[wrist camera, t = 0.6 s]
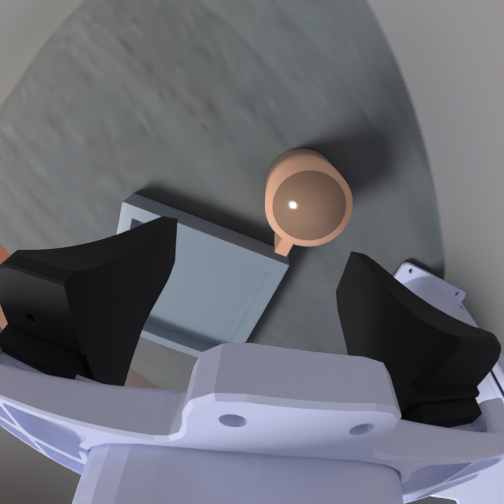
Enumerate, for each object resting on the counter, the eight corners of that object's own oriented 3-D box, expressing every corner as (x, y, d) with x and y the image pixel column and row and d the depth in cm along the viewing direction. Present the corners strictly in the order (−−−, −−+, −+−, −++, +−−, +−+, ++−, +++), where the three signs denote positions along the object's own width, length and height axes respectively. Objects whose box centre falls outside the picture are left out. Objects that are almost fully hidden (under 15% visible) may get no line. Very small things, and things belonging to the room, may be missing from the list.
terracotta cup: (347, 166, 20) (368, 187, 16) (308, 239, 23) (316, 275, 19) (283, 136, 19) (287, 148, 15) (248, 215, 22) (242, 247, 18)
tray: (288, 252, 24) (289, 265, 22) (232, 353, 30) (229, 367, 28) (133, 192, 22) (122, 201, 20) (113, 308, 28) (106, 321, 26)
